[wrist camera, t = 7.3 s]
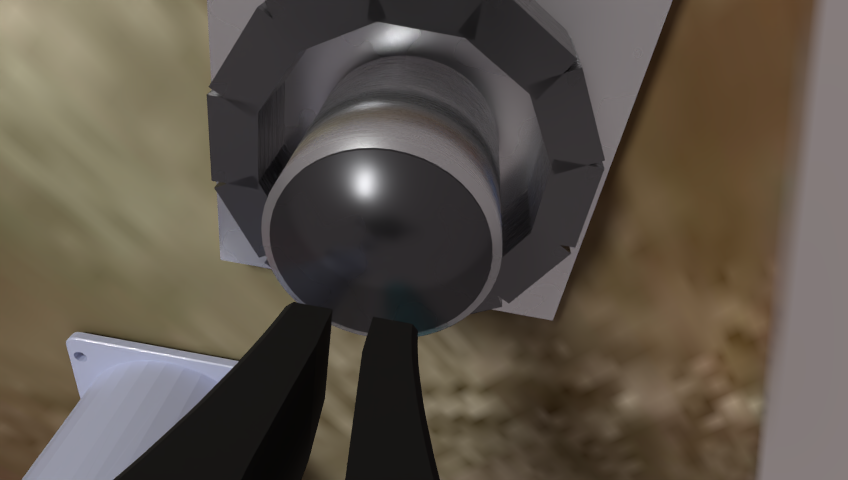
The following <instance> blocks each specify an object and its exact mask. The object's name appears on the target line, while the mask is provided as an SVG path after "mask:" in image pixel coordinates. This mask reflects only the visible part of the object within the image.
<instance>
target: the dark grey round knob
mask: <svg viewBox="0 0 848 480" xmlns="http://www.w3.org/2000/svg"><path fill="white" fill-rule="evenodd" d="M261 232H262V242H263V247H264V250H265V254H266V257H267V260H268V262H269V265H270V267H271V269H272V271H273V273H274V274H275V276H276V278H277V280H278V281H279V282H280V284H281V285H282V286H283V288H284V289H285V290H286V291H287V293H288V294H289V295H290V296H291V297H292V298H293V299H294V300H295V301H296V302H297V303H302V304H307V305H312V306H318V307H323V308H329V309H333V311H332V322H331V325H333V326H335V327H338V328H340V329H343V330H345V331H349V332H352V333H355V334H359V335H364V336H367V334H368V331H369V328H370V325H371V322H372V318H373V317H378V318H383V319H389V320H394V321H400V322H405V323H410V324H413V325H414V326H415V328H416V329H417V330H418V336H424V335H428V334H431V333H434V332H438V331H441V330H443V329H445V328H447V327H450V326H452V325H454V324H455V323H457V322H459V321H461V320H462V319H464V318H465V317H466V316H468V315H469V314H470V313H472V312H473V311H474V310H475V309H476V308H477V307H478V306H479V305H480V304H481V303H482V302H483V301H484V299H485V298H486V296H487V295H488V294H489V292H490V291H491V289H492V287H493V285H494V283H495V281H496V279H497V276H498V273H499V270H500V266H501V260H502V220H501V192H500V165H499V138H498V131H497V126H496V122H495V119H494V116H493V113H492V111H491V109H490V107H489V105H488V103H487V102H486V100H485V98H484V97H483V95H482V94H481V93H480V92H479V90H478V89H477V88H476V87H475V86H474V85H473V84H472V83H471V82H470V81H469V80H468V79H467V78H466V77H464V76H463V75H462V74H460V73H459V72H457V71H456V70H454V69H452V68H450V67H448V66H447V65H445V64H442V63H440V62H437V61H434V60H431V59H427V58H423V57H418V56H407V55H403V56H390V57H384V58H379V59H376V60H373V61H370V62H367V63H365V64H363V65H361V66H359V67H357V68H356V69H354V70H353V71H351V72H350V73H348V74H347V75H346V76H345V77H344V78H343V79H342V80H340V81H339V82H338V84H337V85H336V86H335V87H334V89H333V90H332V91H331V93H330V94H329V96H328V98H327V99H326V101H325V102H324V104H323V106H322V107H321V109H320V111H319V112H318V114H317V116H316V117H315V119H314V120H313V122H312V124H311V125H310V127H309V129H308V130H307V132H306V134H305V135H304V137H303V138H302V140H301V142H300V143H299V145H298V147H297V148H296V150H295V151H294V153H293V155H292V156H291V158H290V160H289V161H288V163H287V165H286V166H285V168H284V169H283V171H282V173H281V174H280V176H279V178H278V179H277V181H276V183H275V184H274V186H273V188H272V189H271V191H270V193H269V195H268V198H267V200H266V203H265V206H264V210H263V215H262V227H261Z"/></svg>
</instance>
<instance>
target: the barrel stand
mask: <svg viewBox="0 0 848 480" xmlns="http://www.w3.org/2000/svg"><path fill="white" fill-rule="evenodd" d="M671 3H672V0H207V8H208V27H209V47H210V66H211V84H210V86H209V87H210V88H211V89H212V91H211V92H209V93H208V94H207V106H208V124H209V141H210V159H211V176H212V181H216V182H217V185H216V186H215V190H216V191H217V200H218V220H219V239H220V258H221V260H226V261H231V262H237V263H242V264H248V265H253V266H258V267H264V268H269V269H271V267H270V265H269V262H268V260H267V257H266V254H265V250H264V247H263V242H262V232H261V227H262V215H263V210H264V206H265V203H266V200H267V198H268V195H269V193H270V191H271V189H272V188H273V186H274V184H275V183H276V181H277V179H278V178H279V176H280V174H281V173H282V171H283V169H284V168H285V166H286V165H287V163H288V161H289V160H290V158H291V156H292V155H293V153H294V151H295V150H296V148H297V147H298V145H299V143H300V142H301V140H302V138H303V137H304V135H305V134H306V132H307V130H308V129H309V127H310V125H311V124H312V122H313V120H314V119H315V117H316V116H317V114H318V112H319V111H320V109H321V107H322V106H323V104H324V102H325V101H326V99H327V98H328V96H329V94H330V93H331V91H332V90H333V89H334V87H335V86H336V85H337V84H338V82H339V81H340V80H342V79H343V78H344V77H345V76H346V75H347V74H348V73H350V72H351V71H353V70H354V69H356V68H357V67H359V66H361V65H363V64H365V63H367V62H370V61H373V60H376V59H379V58H384V57H390V56H403V55H407V56H418V57H423V58H427V59H431V60H434V61H437V62H440V63H442V64H445V65H447V66H448V67H450V68H452V69H454V70H456V71H457V72H459V73H460V74H462V75H463V76H464V77H466V78H467V79H468V80H469V81H470V82H471V83H472V84H473V85H474V86H475V87H476V88H477V89H478V90H479V92H480V93H481V94H482V95H483V97H484V98H485V100H486V102H487V103H488V105H489V107H490V109H491V111H492V113H493V116H494V119H495V122H496V126H497V131H498V138H499V165H500V192H501V220H502V260H501V266H500V270H499V273H498V276H497V279H496V281H495V283H494V285H493V287H492V289H491V291H490V292H489V294H488V295H487V296H486V298H485V299H484V301H483V302H482V303H481V304H480V305H479V306H478V307H477V308H476V309H475V310H474V311H473V312H472V313H477V312H481V311H486V310H490V309H492V310H498V311H503V312H508V313H514V314H519V315H525V316H530V317H536V318H541V319H547V320H552V321H553V318H554V316H555V313H556V310H557V308H558V305H559V302H560V300H561V297H562V294H563V292H564V289H565V286H566V284H567V281H568V278H569V276H570V273H571V270H572V268H573V265H574V262H575V260H576V257H577V254H578V252H579V249H580V246H581V244H582V241H583V238H584V236H585V233H586V230H587V228H588V225H589V222H590V220H591V217H592V214H593V212H594V209H595V206H596V204H597V201H598V198H599V196H600V193H601V190H602V188H603V185H604V182H605V180H606V177H607V174H608V171H609V169H610V166H611V163H612V161H613V158H614V155H615V153H616V150H617V147H618V145H619V142H620V139H621V137H622V134H623V131H624V129H625V126H626V123H627V121H628V118H629V115H630V113H631V110H632V107H633V105H634V102H635V99H636V97H637V94H638V91H639V89H640V86H641V83H642V81H643V78H644V75H645V73H646V70H647V67H648V65H649V62H650V59H651V57H652V54H653V51H654V49H655V46H656V43H657V41H658V38H659V35H660V33H661V30H662V27H663V25H664V22H665V19H666V16H667V14H668V11H669V8H670V6H671ZM472 313H470V314H472Z"/></svg>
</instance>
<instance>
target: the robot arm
mask: <svg viewBox="0 0 848 480" xmlns="http://www.w3.org/2000/svg"><path fill="white" fill-rule="evenodd" d="M332 311H333V309H329V308H323V307H318V306H312V305H307V304H302V303H296V302H293V303H291V304H289V305H288V306H286V307H285V308H284V310H283V311H282V312H281V313H280V315H279V316H278V317H277V318H276V320H275V321H274V322H273V323H272V324H271V326H270V327H269V328H268V329H267V330H266V331H265V333H264V334H263V335H262V336H261V337H260V338H259V340H258V341H257V342H256V343H255V344H254V345H253V346H252V347H251V348H250V350H249V351H248V352H247V353H246V354H245V355H244V356H243V357H242V358H241V359H240V360H239V361H236V360H230V359H225V358H219V357H214V356H208V355H203V354H197V353H192V352H187V351H181V350H176V349H170V348H165V347H159V346H154V345H148V344H143V343H137V342H132V341H126V340H121V339H116V338H110V337H105V336H99V335H94V334H88V333H83V332H75V333H73V334H72V335H71V336H70V337H69V339H68V340H67V341H66V345H67V349H68V353H69V357H70V361H71V364H72V368H73V372H74V376H75V379H76V383H77V387H78V391H79V395H80V398H81V400H80V401H79V402H78V404H77V405H76V406H75V408H74V409H73V410H72V412H71V413H70V415H69V416H68V417H67V419H66V420H65V421H64V423H63V424H62V425H61V427H60V428H59V430H58V431H57V432H56V434H55V435H54V436H53V438H52V439H51V440H50V442H49V443H48V444H47V446H46V447H45V449H44V450H43V451H42V453H41V454H40V455H39V457H38V458H37V459H36V461H35V462H34V464H33V465H32V466H31V468H30V469H29V470H28V472H27V473H26V474H25V476H24V477H23V479H22V480H301V479H302V476H303V473H304V471H305V468H306V465H307V463H308V460H309V456H310V453H311V449H312V445H313V441H314V438H315V434H316V430H317V426H318V423H319V419H320V415H321V411H322V407H323V403H324V399H325V390H326V379H327V368H328V356H329V345H330V334H331V322H332ZM345 480H440V479H439V475H438V471H437V466H436V462H435V458H434V454H433V449H432V444H431V440H430V435H429V430H428V425H427V421H426V416H425V410H424V404H423V398H422V391H421V383H420V376H419V366H418V330H417V329H416V328H415V326H414V325H413V324H410V323H405V322H400V321H394V320H389V319H383V318H378V317H373V318H372V322H371V325H370V328H369V331H368V334H367V338H366V341H365V345H364V348H363V351H362V358H361V366H360V373H359V381H358V388H357V396H356V403H355V411H354V418H353V426H352V433H351V441H350V448H349V456H348V463H347V471H346V478H345Z"/></svg>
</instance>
